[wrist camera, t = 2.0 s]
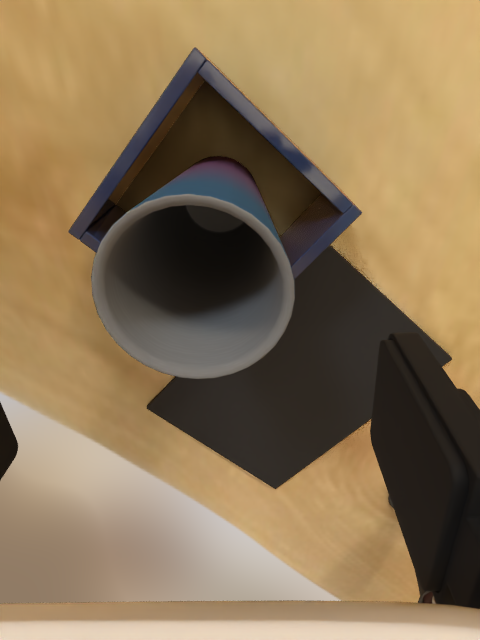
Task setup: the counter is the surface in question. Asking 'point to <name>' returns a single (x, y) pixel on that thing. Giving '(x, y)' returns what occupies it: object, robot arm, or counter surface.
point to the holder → (332, 205)
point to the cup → (196, 275)
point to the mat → (297, 378)
